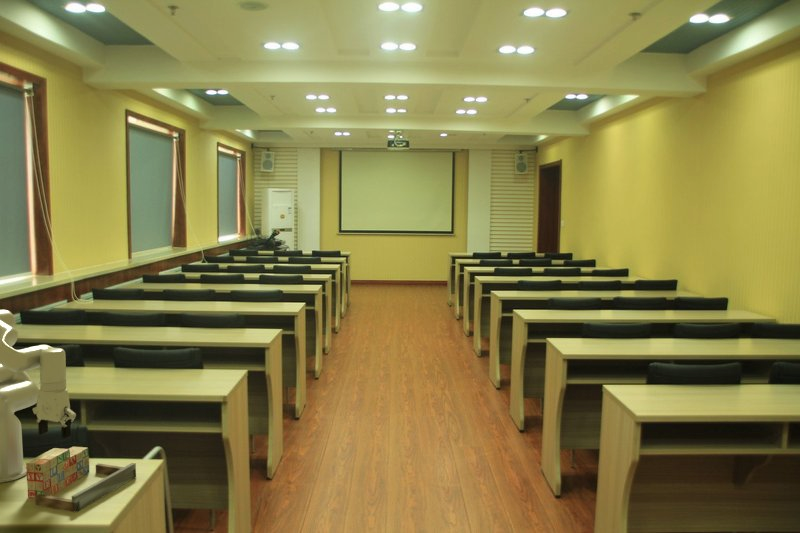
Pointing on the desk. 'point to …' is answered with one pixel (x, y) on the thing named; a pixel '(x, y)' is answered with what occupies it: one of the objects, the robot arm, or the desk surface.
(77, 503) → the u-shaped fence
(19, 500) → the desk surface
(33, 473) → the stack of blocks
